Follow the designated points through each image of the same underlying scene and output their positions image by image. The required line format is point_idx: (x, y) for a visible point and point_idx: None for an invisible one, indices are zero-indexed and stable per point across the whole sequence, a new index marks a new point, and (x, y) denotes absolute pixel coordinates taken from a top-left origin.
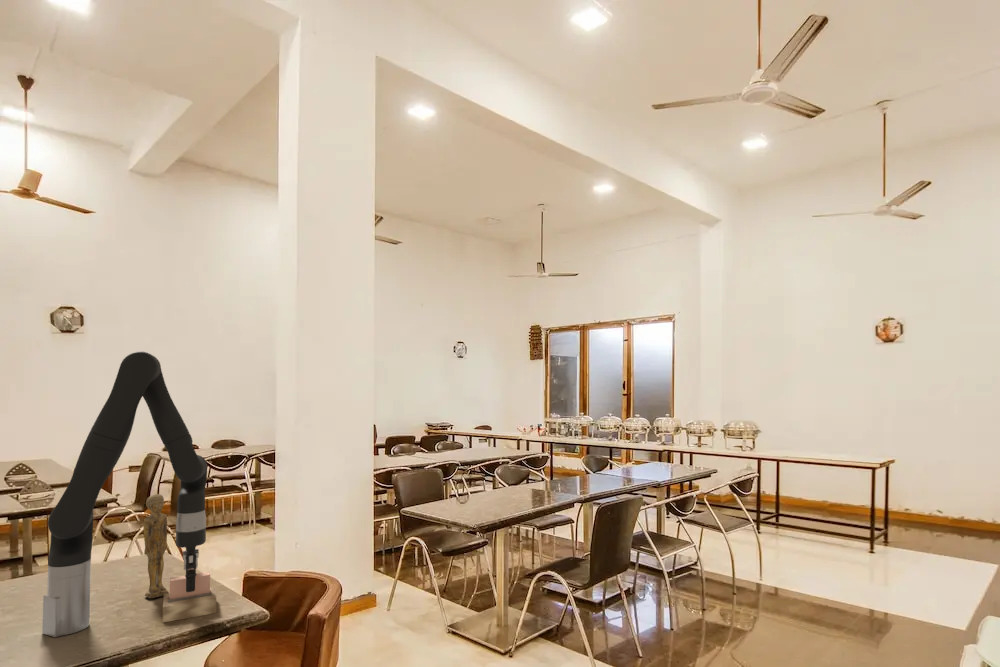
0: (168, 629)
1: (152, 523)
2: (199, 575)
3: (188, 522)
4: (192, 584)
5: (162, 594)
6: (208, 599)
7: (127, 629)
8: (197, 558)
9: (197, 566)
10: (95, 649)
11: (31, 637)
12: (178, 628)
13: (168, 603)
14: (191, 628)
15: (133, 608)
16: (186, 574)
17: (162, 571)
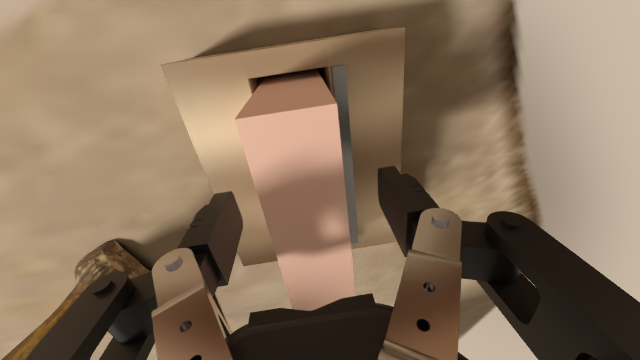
0: (452, 181)
1: None
2: (320, 186)
3: None
4: (425, 195)
5: (130, 260)
6: (402, 74)
7: (386, 270)
8: (455, 355)
9: (458, 261)
10: (472, 292)
11: None
12: (464, 154)
13: (367, 232)
14: (494, 112)
15: (226, 294)
16: (524, 284)
17: (33, 343)
